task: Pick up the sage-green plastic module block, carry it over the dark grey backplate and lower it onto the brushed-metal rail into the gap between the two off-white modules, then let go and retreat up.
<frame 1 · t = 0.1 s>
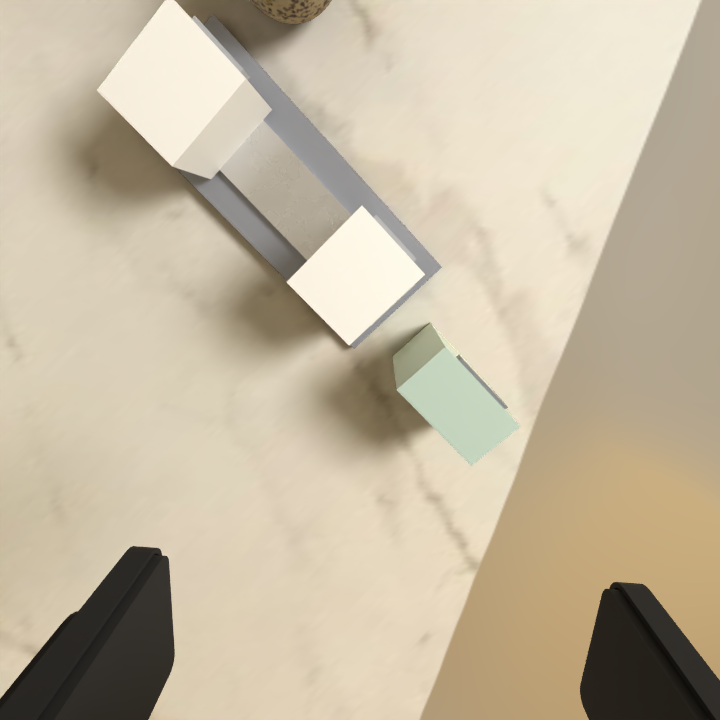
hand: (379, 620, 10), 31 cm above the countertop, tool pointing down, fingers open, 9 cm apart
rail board: (291, 196, 37), on the countertop
module block: (441, 371, 41), on the countertop
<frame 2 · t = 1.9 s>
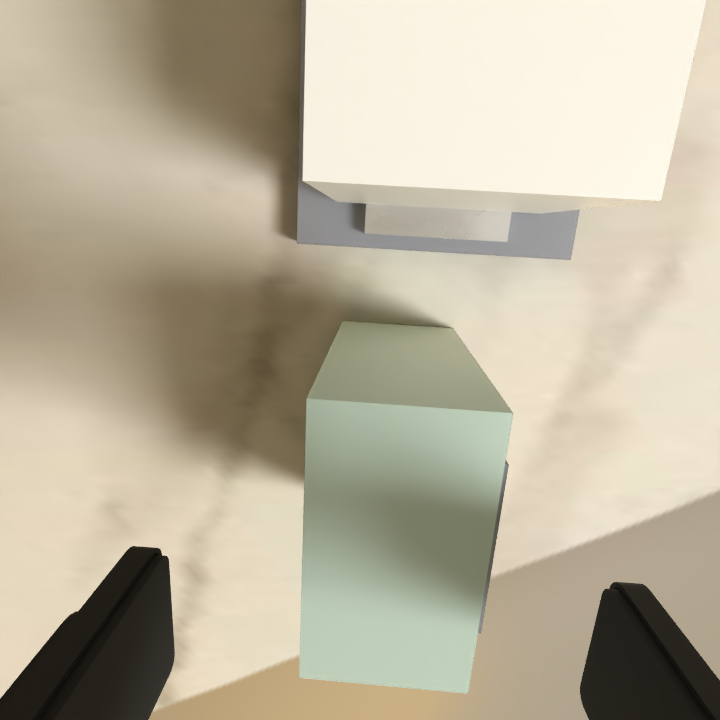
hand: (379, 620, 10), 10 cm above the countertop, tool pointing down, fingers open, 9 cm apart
module block: (390, 415, 20), on the countertop
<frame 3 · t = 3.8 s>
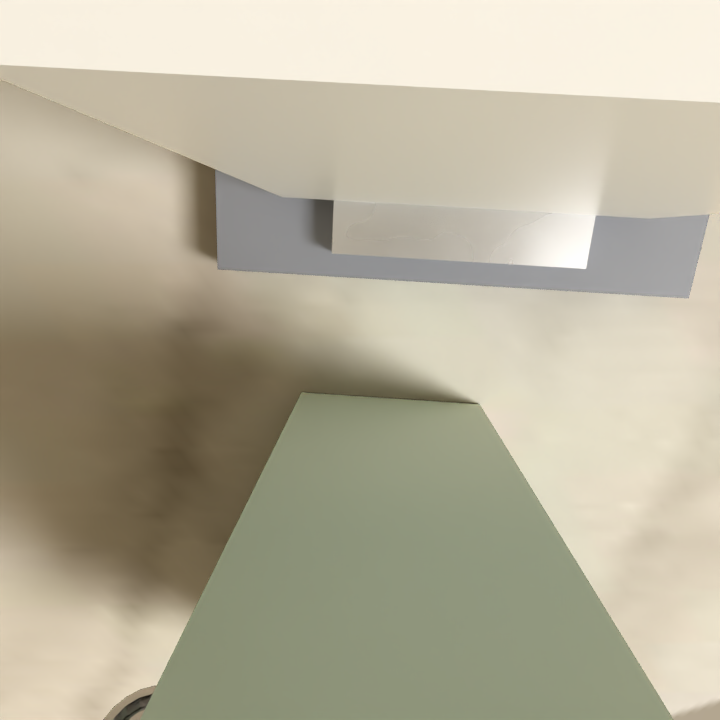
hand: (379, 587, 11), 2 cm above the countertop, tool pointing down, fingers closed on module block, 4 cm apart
module block: (379, 535, 13), on the countertop, touching gripper
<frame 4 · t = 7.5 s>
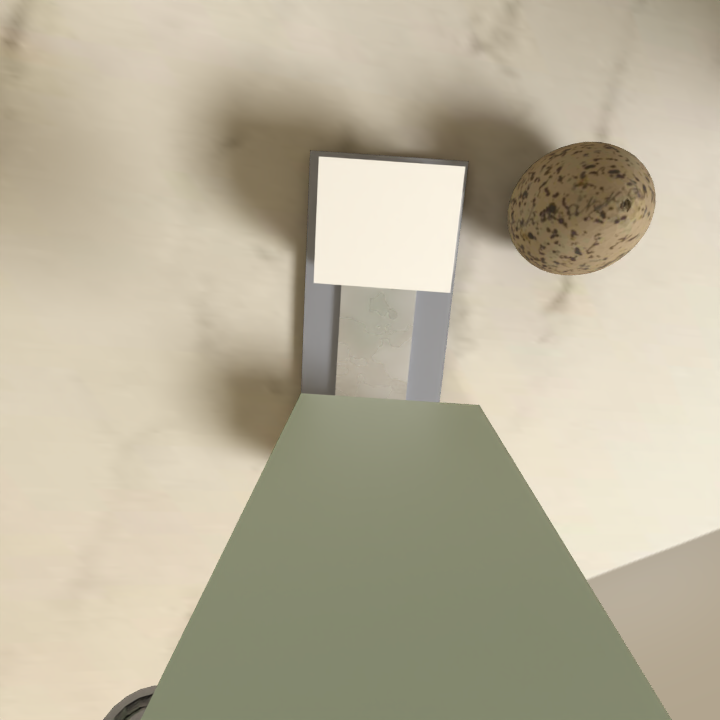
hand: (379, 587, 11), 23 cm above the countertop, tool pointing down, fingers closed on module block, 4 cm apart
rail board: (374, 345, 33), on the countertop
module block: (379, 535, 12), point 21 cm above the countertop, touching gripper
decorative egg: (545, 215, 30), on the countertop
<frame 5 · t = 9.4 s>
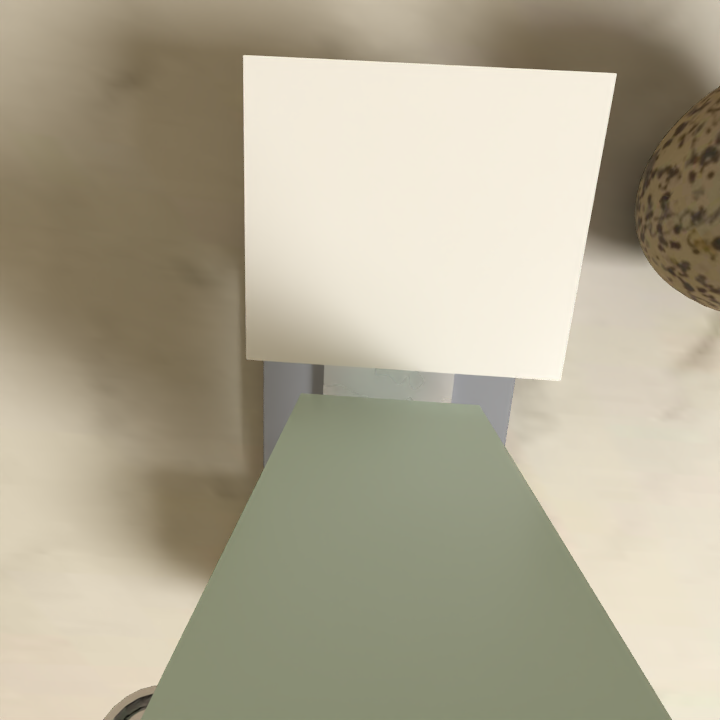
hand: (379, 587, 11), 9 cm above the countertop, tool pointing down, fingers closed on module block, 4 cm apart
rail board: (383, 423, 20), on the countertop
module block: (379, 536, 12), point 8 cm above the countertop, touching gripper
decorative egg: (687, 203, 17), on the countertop
when the fingers open (5 cm above the countertop, at t = 11.1 s): module block drops 1 cm, resting on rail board.
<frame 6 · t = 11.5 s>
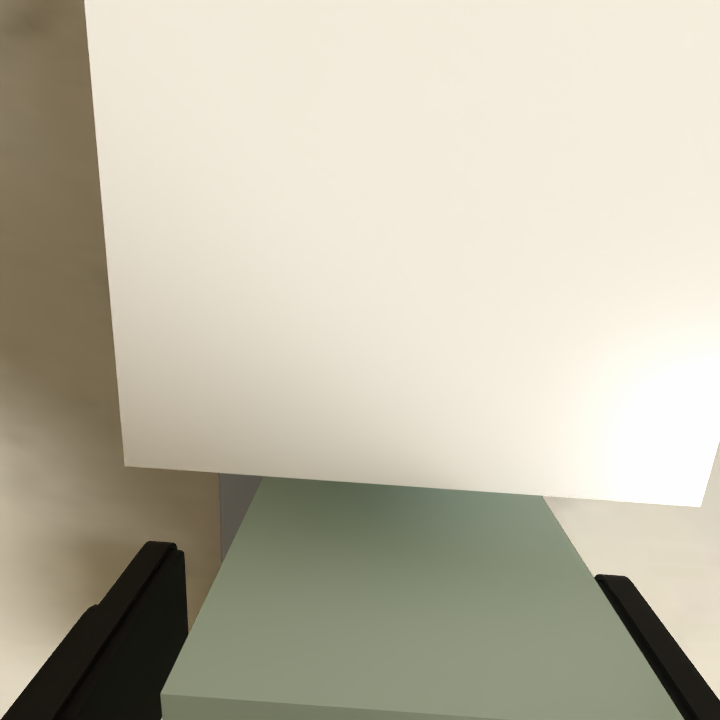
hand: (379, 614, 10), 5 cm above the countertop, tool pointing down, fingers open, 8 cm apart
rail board: (378, 483, 15), on the countertop
module block: (382, 510, 14), point 2 cm above the countertop, touching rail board
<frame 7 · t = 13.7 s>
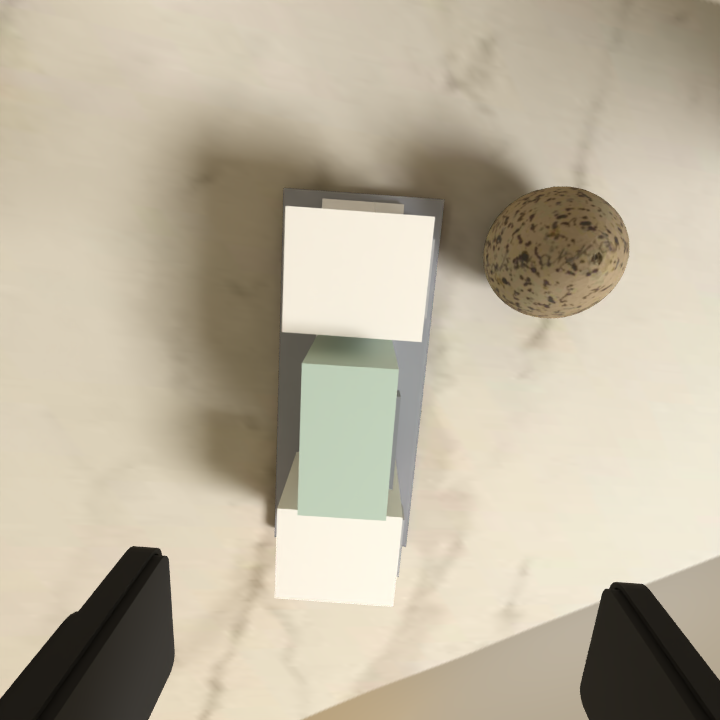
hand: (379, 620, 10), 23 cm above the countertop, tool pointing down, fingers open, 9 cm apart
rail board: (351, 381, 32), on the countertop
module block: (352, 387, 31), point 2 cm above the countertop, touching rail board
decorative egg: (523, 252, 30), on the countertop
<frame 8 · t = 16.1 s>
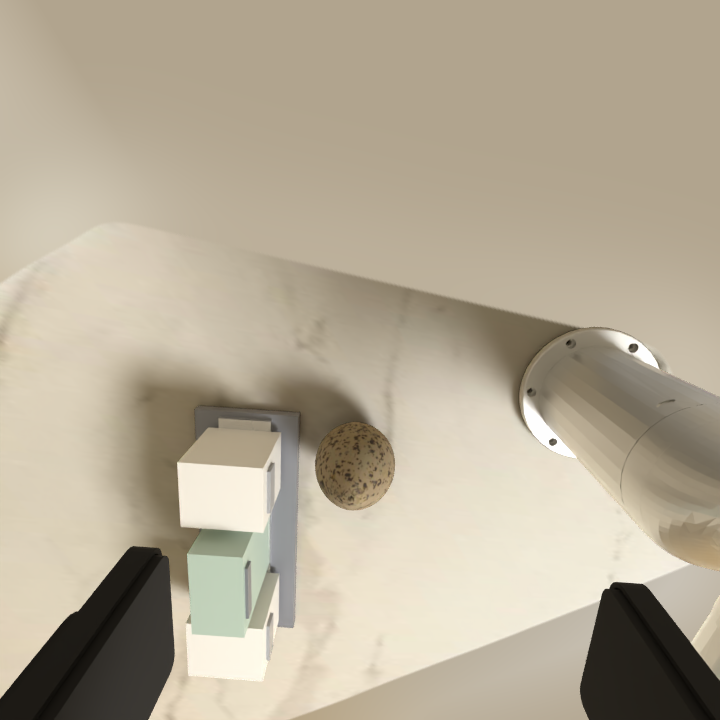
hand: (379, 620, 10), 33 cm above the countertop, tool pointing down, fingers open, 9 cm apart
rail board: (249, 520, 48), on the countertop
module block: (246, 529, 46), point 2 cm above the countertop, touching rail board
decorative egg: (357, 441, 45), on the countertop
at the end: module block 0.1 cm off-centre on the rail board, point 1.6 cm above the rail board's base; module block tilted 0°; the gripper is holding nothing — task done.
